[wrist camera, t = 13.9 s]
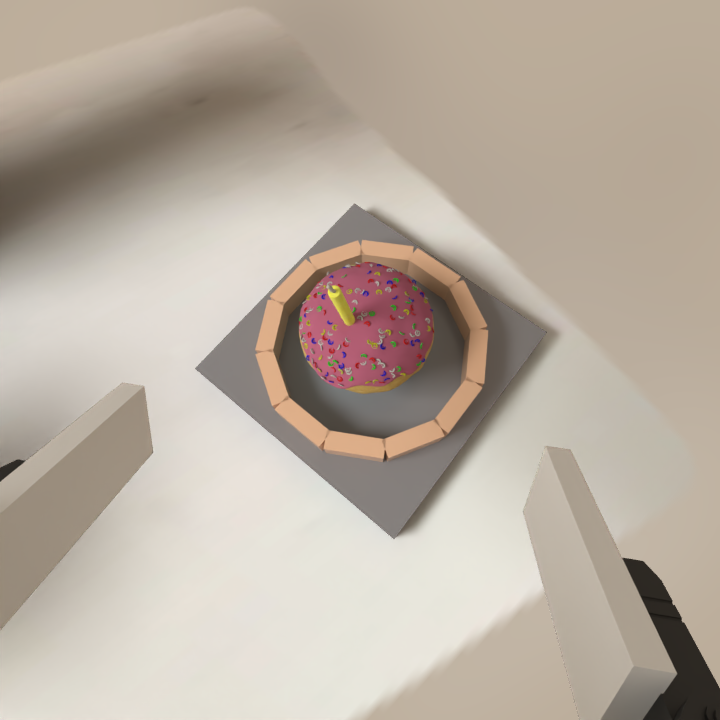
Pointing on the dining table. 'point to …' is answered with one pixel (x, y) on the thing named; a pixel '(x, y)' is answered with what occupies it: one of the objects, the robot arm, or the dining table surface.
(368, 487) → the ring dish
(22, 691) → the dining table surface
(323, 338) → the cupcake
